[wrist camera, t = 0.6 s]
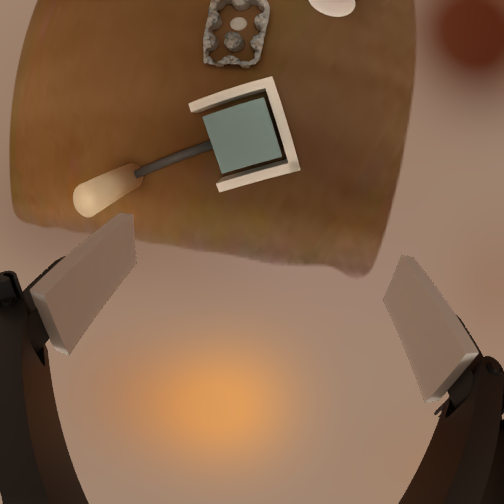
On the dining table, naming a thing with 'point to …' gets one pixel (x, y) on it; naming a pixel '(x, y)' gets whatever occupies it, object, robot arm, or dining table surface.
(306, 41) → the dining table surface
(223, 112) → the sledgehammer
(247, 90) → the white u-shaped bracket
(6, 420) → the robot arm
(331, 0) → the champagne flute
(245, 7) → the egg carton
